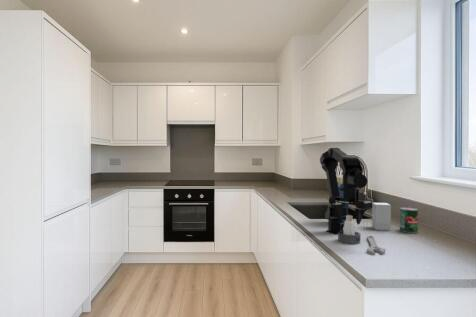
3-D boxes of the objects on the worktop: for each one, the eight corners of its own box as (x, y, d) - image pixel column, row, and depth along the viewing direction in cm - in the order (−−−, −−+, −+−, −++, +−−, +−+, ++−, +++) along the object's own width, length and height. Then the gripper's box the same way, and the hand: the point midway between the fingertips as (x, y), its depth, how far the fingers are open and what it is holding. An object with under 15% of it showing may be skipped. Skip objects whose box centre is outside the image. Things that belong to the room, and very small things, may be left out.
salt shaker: (344, 238, 137) (344, 213, 137) (357, 240, 134) (357, 215, 134) (340, 241, 133) (340, 215, 133) (353, 243, 130) (353, 217, 130)
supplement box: (391, 230, 152) (391, 204, 152) (375, 229, 154) (375, 204, 154) (387, 227, 160) (387, 202, 160) (371, 226, 161) (371, 202, 161)
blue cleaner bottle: (336, 226, 160) (336, 178, 160) (331, 221, 172) (331, 176, 172) (348, 227, 160) (348, 178, 159) (342, 222, 172) (342, 176, 171)
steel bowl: (333, 240, 135) (334, 232, 135) (347, 237, 139) (347, 229, 139) (350, 245, 127) (350, 236, 127) (364, 242, 132) (364, 233, 132)
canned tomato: (405, 228, 157) (405, 206, 157) (421, 231, 150) (421, 209, 150) (396, 230, 153) (396, 208, 153) (412, 233, 146) (412, 210, 146)
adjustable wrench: (366, 238, 139) (366, 235, 139) (382, 240, 137) (382, 236, 137) (367, 254, 116) (367, 250, 116) (386, 257, 114) (386, 252, 114)
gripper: (381, 186, 129) (380, 224, 129) (345, 183, 145) (345, 216, 145) (363, 188, 123) (363, 227, 123) (328, 184, 140) (327, 219, 140)
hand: (349, 222), depth 133 cm, fingers open, 9 cm apart
